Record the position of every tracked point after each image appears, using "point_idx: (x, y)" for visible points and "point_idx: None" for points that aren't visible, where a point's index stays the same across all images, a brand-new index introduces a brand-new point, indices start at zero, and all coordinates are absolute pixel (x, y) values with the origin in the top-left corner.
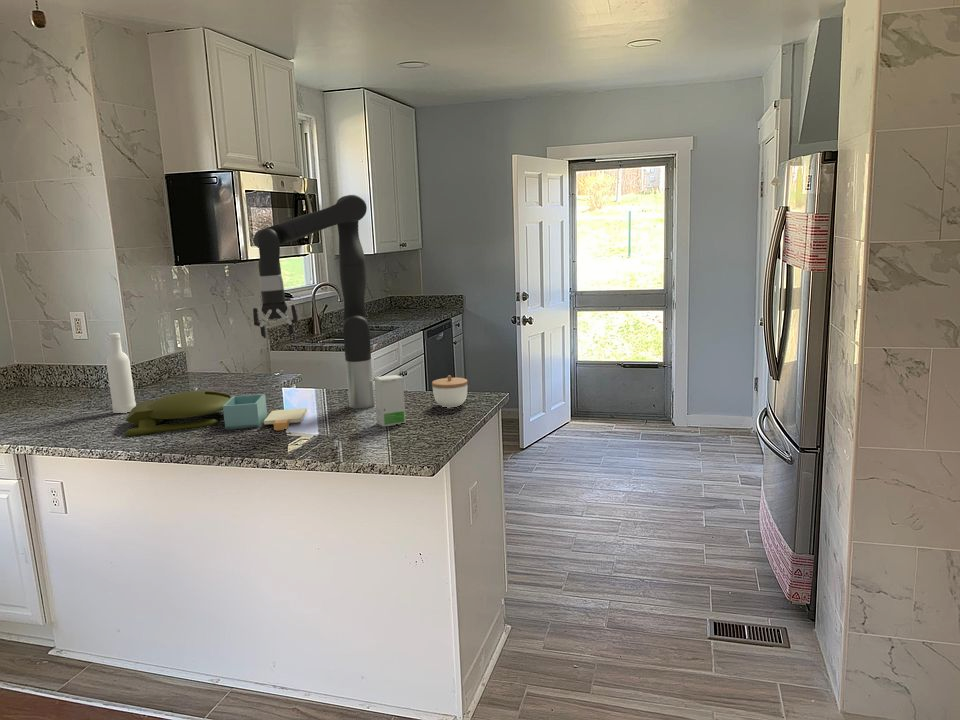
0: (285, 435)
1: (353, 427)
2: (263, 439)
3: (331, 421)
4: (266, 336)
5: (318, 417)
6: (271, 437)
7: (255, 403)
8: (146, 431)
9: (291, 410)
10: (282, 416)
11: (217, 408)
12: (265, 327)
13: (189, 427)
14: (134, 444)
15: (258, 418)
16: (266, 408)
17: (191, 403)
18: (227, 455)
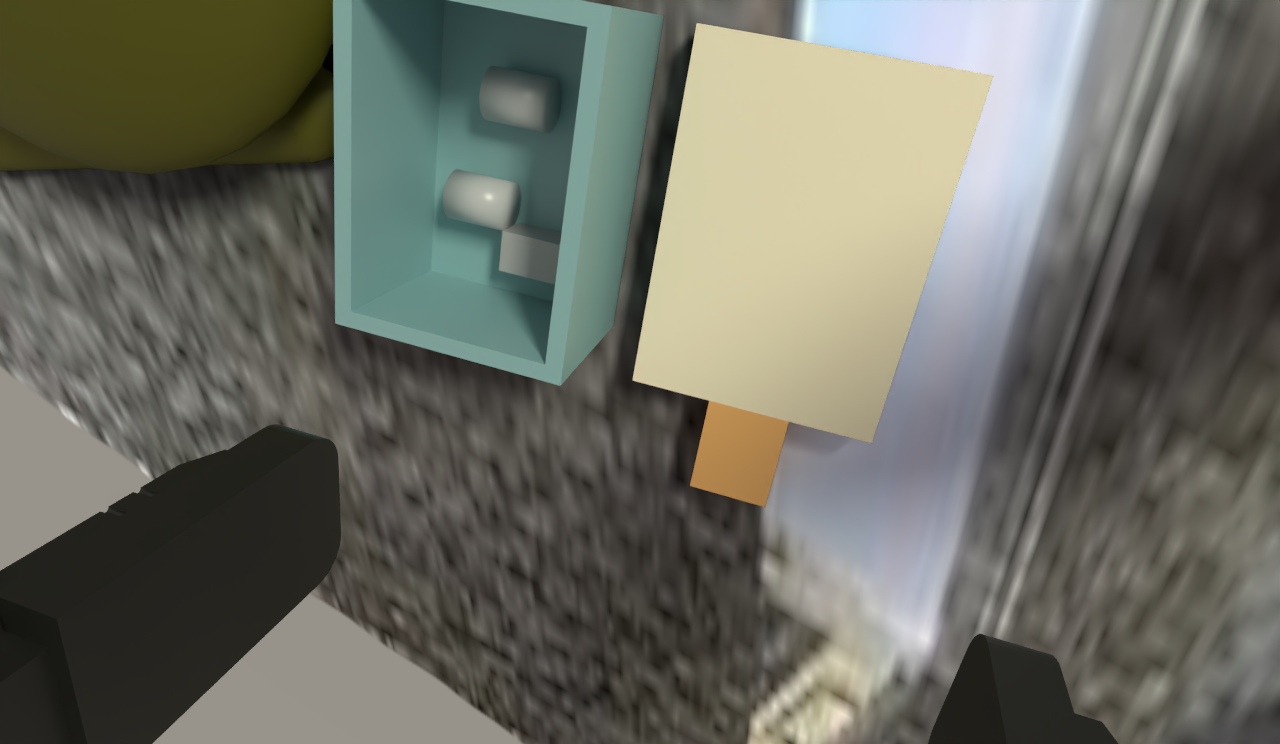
0: (752, 580)
1: (1171, 650)
2: (640, 584)
3: (1089, 440)
4: (324, 453)
5: (1035, 275)
6: (679, 573)
7: (549, 371)
8: (25, 168)
9: (849, 111)
10: (758, 311)
11: (287, 83)
12: (96, 592)
13: (215, 164)
14: (72, 333)
15: (596, 343)
16: (647, 19)
17: (87, 75)
18: (503, 712)
